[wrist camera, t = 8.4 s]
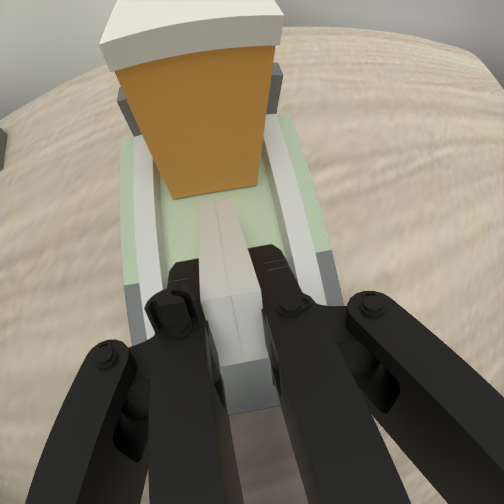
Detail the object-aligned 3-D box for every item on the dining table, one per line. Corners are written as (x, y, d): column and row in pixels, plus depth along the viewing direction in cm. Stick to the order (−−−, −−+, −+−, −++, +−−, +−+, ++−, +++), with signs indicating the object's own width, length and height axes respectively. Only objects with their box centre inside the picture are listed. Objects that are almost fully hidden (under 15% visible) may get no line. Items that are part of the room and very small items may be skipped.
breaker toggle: (258, 186, 17) (284, 15, 6) (171, 201, 16) (98, 44, 5) (246, 131, 18) (255, -26, 7) (167, 144, 17) (120, -6, 6)
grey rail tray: (345, 378, 16) (402, 403, 9) (158, 412, 15) (116, 455, 8) (286, 130, 20) (303, 62, 14) (129, 156, 19) (95, 95, 13)
